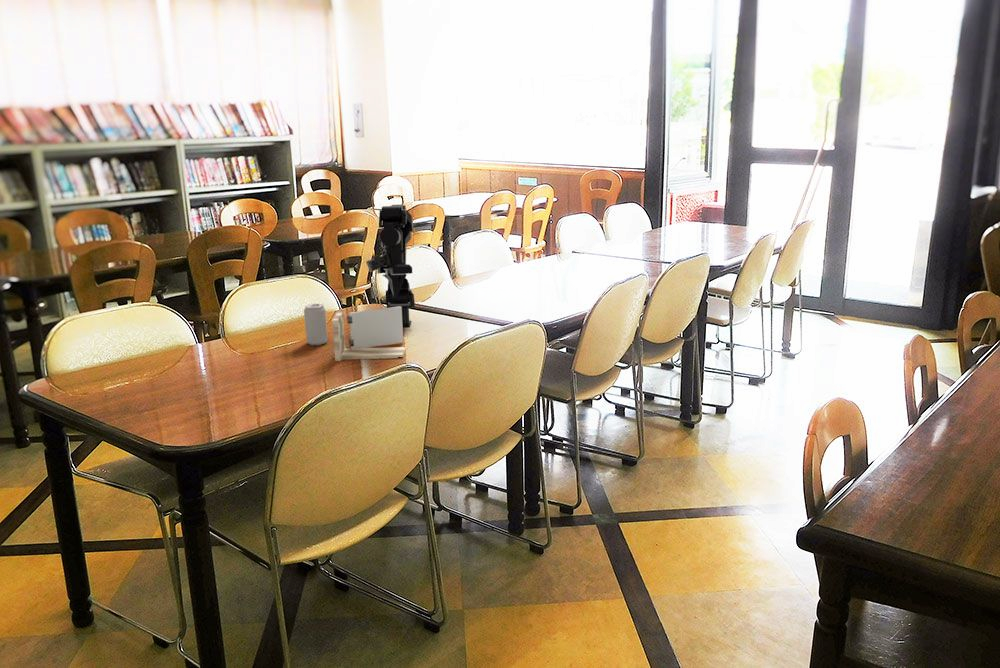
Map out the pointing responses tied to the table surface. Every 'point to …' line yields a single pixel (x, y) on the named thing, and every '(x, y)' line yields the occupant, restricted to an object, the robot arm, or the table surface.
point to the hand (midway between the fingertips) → (395, 296)
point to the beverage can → (315, 324)
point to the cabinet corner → (358, 352)
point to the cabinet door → (375, 327)
